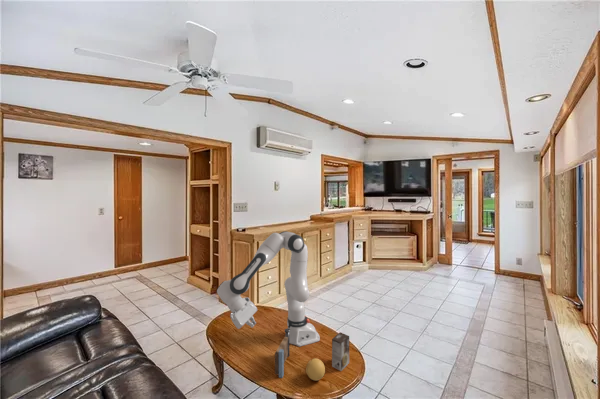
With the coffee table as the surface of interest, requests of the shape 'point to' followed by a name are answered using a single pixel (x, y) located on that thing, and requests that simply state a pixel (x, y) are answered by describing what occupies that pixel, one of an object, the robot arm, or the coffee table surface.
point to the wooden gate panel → (282, 346)
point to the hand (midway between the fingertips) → (254, 325)
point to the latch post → (281, 363)
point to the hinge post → (288, 337)
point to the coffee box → (340, 351)
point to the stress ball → (315, 369)
